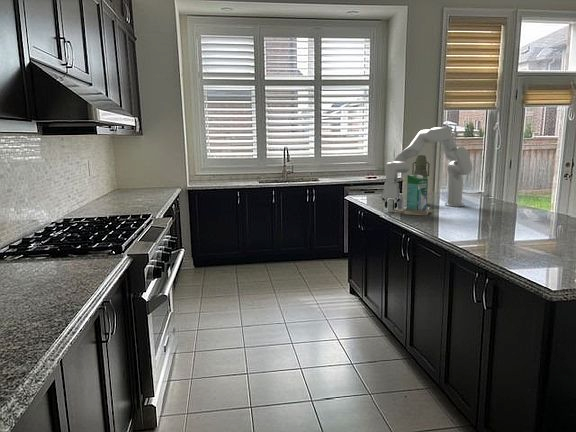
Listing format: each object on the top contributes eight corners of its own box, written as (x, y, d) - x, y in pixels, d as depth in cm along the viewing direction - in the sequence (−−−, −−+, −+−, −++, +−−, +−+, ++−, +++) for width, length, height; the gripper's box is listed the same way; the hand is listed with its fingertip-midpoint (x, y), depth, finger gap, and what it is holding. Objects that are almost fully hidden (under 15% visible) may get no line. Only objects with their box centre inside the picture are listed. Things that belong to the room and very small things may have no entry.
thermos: (429, 204, 317) (431, 155, 310) (412, 204, 318) (413, 156, 312) (427, 202, 325) (428, 155, 319) (410, 202, 327) (411, 155, 320)
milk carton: (417, 215, 279) (418, 175, 275) (406, 213, 287) (407, 174, 282) (426, 213, 284) (428, 174, 279) (416, 211, 292) (417, 173, 287)
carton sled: (391, 209, 300) (391, 197, 298) (429, 211, 289) (430, 199, 287) (386, 213, 287) (386, 201, 285) (426, 215, 276) (426, 203, 275)
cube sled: (399, 207, 306) (399, 196, 304) (421, 208, 299) (421, 197, 298) (397, 209, 299) (397, 197, 298) (419, 210, 293) (419, 198, 291)
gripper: (405, 180, 289) (405, 207, 292) (379, 180, 296) (379, 206, 299) (403, 182, 282) (402, 209, 285) (377, 181, 289) (376, 208, 293)
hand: (390, 207), depth 292 cm, fingers open, 5 cm apart
